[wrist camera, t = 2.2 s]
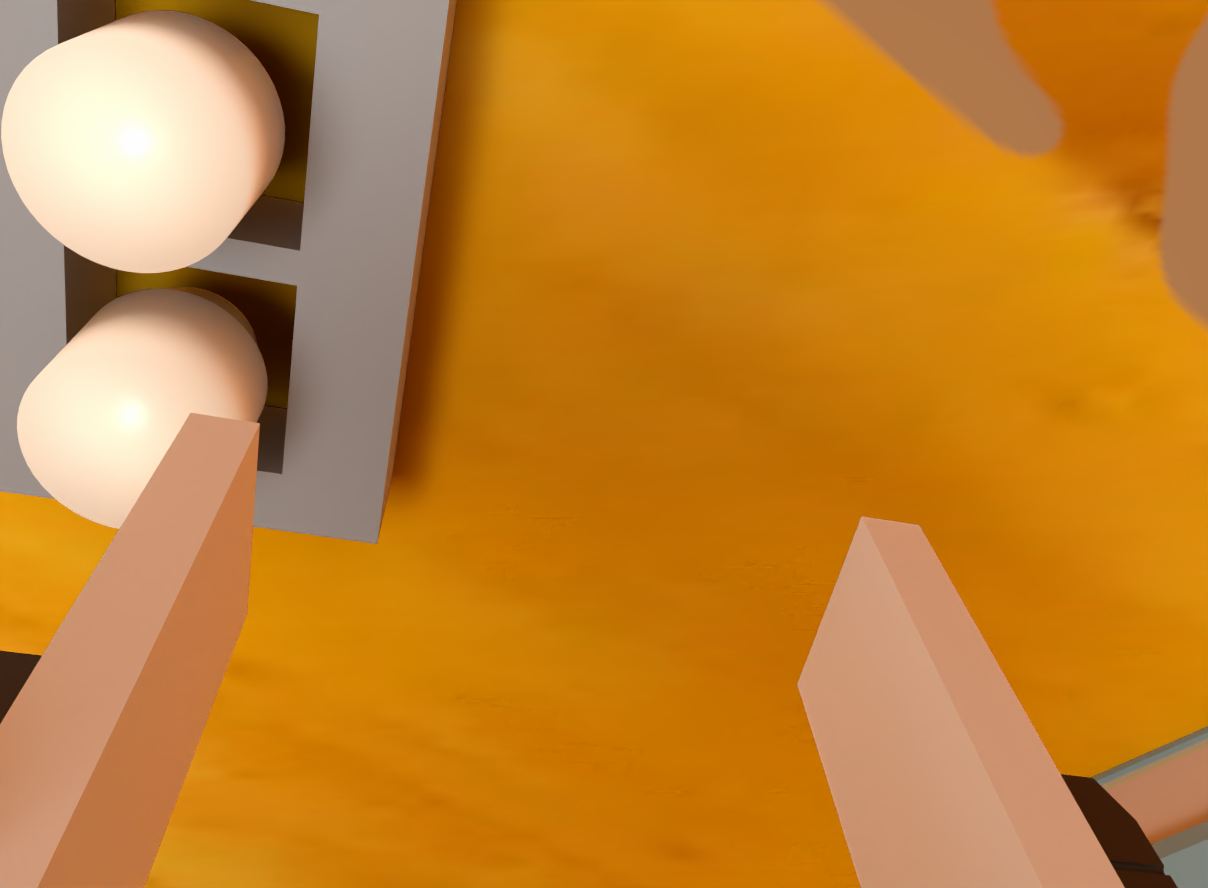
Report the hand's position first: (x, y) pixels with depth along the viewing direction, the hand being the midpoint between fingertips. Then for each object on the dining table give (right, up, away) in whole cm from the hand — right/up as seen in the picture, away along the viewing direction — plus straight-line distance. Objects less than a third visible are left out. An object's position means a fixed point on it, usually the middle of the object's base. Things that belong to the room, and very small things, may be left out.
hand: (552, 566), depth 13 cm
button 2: (-11, +4, +18) cm, 22 cm away
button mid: (-10, +10, +15) cm, 21 cm away
